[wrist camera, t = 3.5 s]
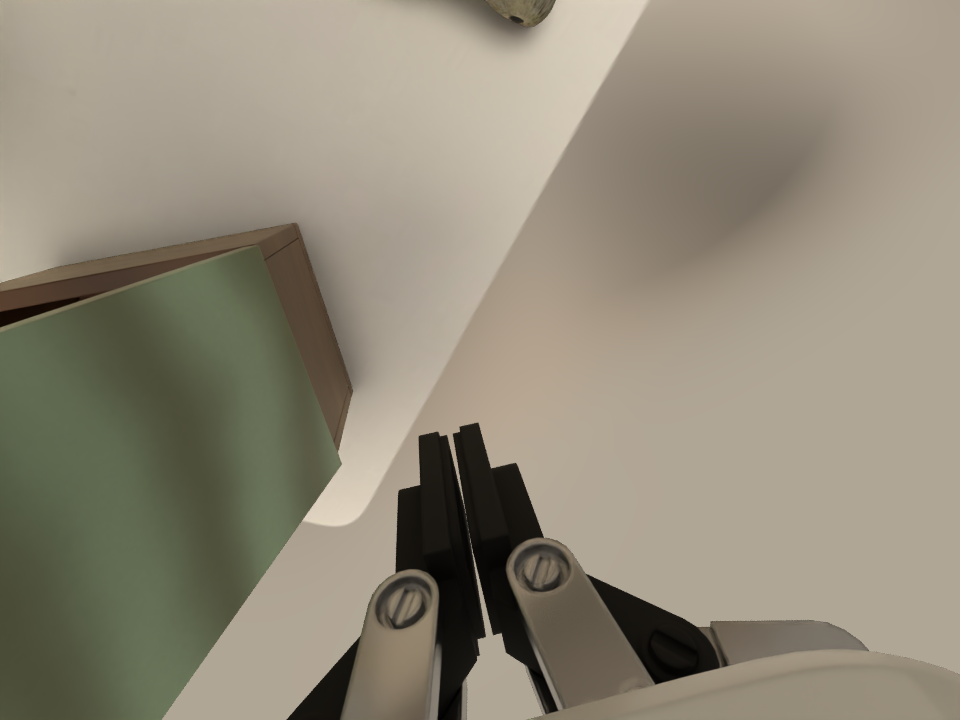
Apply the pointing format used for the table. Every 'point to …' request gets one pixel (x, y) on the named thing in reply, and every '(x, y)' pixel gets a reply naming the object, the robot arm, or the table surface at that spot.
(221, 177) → the table surface
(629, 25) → the table surface
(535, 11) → the decorative bird
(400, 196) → the table surface
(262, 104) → the table surface
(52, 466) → the green rectangular panel
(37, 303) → the cold frame
